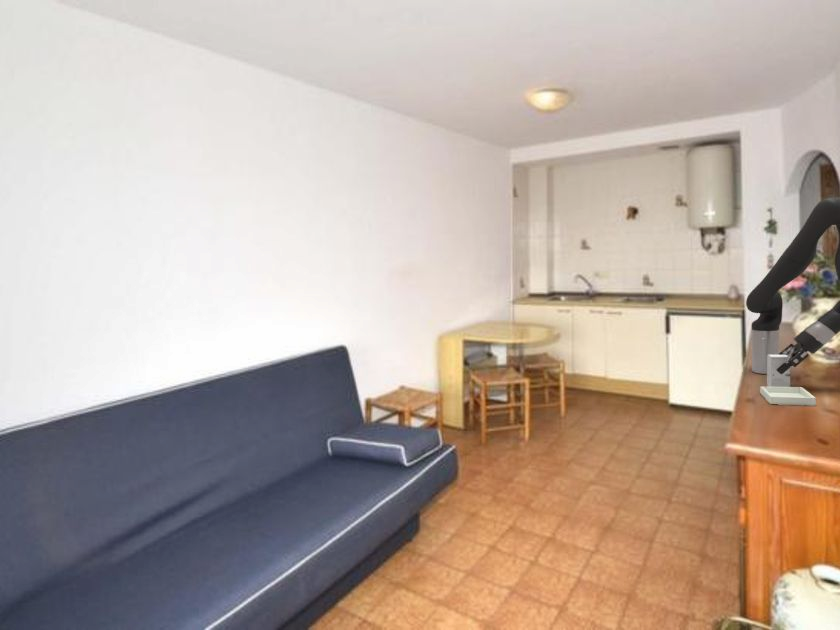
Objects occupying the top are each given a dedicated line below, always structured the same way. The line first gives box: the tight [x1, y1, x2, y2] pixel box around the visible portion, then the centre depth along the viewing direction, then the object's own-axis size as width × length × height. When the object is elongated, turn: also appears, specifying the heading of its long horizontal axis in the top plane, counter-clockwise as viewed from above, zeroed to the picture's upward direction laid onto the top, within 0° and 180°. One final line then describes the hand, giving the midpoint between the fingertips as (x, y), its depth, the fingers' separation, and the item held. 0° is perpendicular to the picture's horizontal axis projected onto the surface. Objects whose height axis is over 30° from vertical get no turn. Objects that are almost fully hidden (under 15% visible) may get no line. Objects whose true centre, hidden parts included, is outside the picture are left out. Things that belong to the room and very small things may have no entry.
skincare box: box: [766, 355, 791, 387], centre depth 183 cm, size 6×4×12 cm
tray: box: [759, 385, 817, 407], centre depth 171 cm, size 14×12×2 cm
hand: (775, 369), depth 183 cm, fingers open, 8 cm apart
